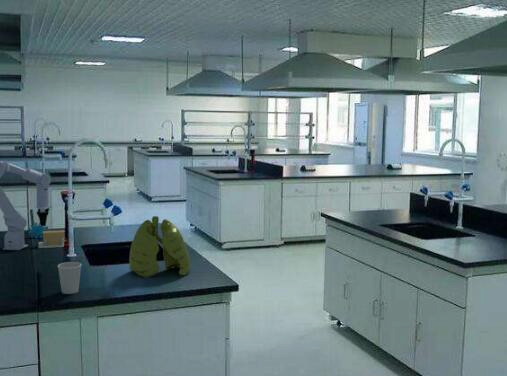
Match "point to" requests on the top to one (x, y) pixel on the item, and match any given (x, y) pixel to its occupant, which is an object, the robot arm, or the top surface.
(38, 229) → the blue spiky piece
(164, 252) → the lungs
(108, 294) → the top surface
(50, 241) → the tan rectangular block
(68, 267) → the dixie cup
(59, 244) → the tray
